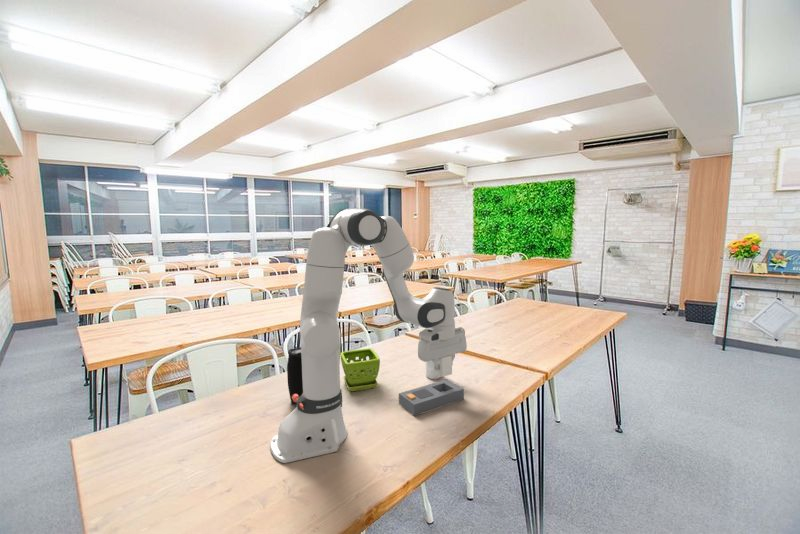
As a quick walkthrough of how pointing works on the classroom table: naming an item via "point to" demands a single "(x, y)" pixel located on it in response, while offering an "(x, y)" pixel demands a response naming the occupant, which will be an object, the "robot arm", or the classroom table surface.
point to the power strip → (430, 397)
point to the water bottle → (431, 371)
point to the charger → (444, 366)
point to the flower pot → (360, 369)
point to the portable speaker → (294, 373)
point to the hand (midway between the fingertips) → (443, 367)
